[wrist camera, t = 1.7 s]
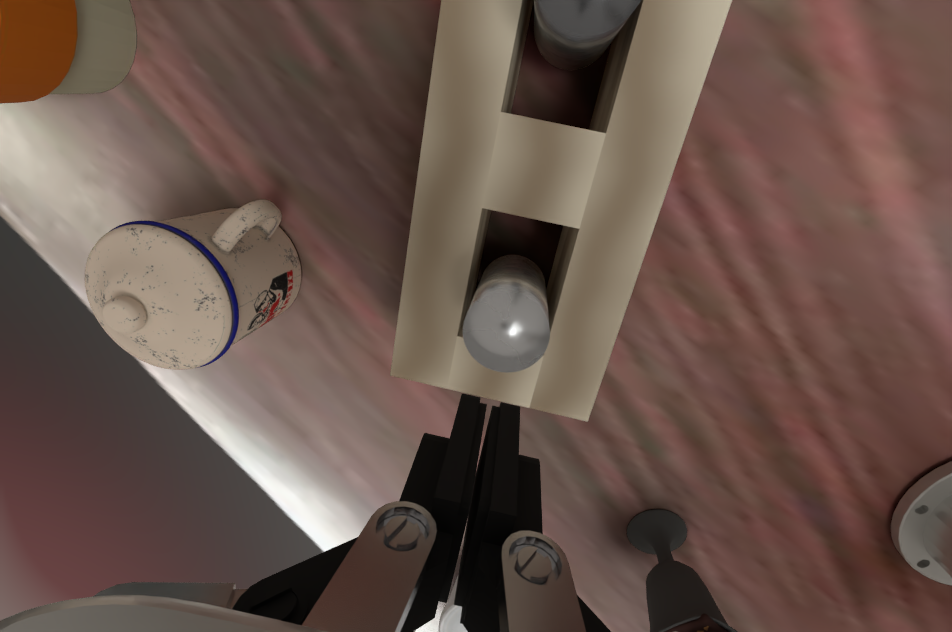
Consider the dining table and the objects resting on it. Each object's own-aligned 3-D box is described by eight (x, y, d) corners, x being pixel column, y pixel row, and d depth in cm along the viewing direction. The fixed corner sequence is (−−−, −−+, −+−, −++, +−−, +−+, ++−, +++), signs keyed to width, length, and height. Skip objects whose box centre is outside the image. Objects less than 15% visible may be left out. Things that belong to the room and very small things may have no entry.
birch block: (706, -60, 24) (785, -157, 16) (575, 361, 33) (587, 421, 26) (489, -100, 24) (470, -211, 17) (421, 326, 34) (390, 375, 26)
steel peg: (552, 262, 26) (559, 302, 19) (536, 323, 28) (537, 380, 21) (487, 248, 26) (471, 283, 20) (474, 309, 28) (455, 361, 21)
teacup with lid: (262, 341, 36) (146, 423, 25) (172, 260, 34) (7, 310, 24) (354, 243, 32) (264, 290, 21) (258, 146, 31) (107, 144, 20)
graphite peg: (626, -15, 21) (672, -97, 14) (601, 77, 23) (632, 44, 16) (544, -31, 21) (550, -119, 14) (525, 62, 23) (522, 23, 16)
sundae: (648, 571, 40) (712, 800, 26) (600, 525, 38) (639, 738, 24) (714, 537, 37) (821, 767, 23) (665, 487, 36) (748, 698, 22)
